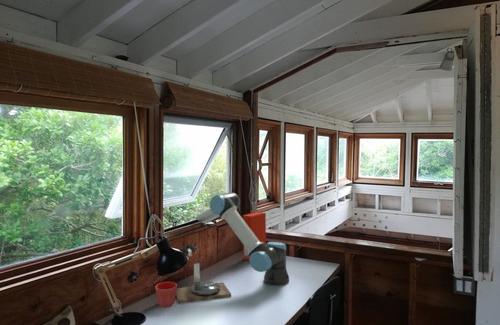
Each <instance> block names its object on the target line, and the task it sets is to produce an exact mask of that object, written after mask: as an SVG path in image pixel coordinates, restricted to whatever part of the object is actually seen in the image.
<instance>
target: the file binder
mask: <svg viewBox="0 0 500 325" xmlns="http://www.w3.org/2000/svg"><path fill="white" fill-rule="evenodd" d="M266 216H267V215H266V212H260V211H259V212H258V211H257V212H253V213H247V214H244V215H243V214H242V216H241V217H242V219H243V220H244V221H245V223H246V224H247V225H248V227H249V228H250V229H251V231H252V232H253V233H254V234H255V236H256V237H257V238H258V240H259V241H260V242H264V243H265V245H267V232H266V231H267V228H266V226H267V223H266V222H267V221H266V220H267V219H266ZM249 258H250V257H249V256H248V250H247V248H246V247H245V246H244V244H243V243H242V259H243V260H245V261H247V262H248V261H249V262H250V260H249Z"/></svg>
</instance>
